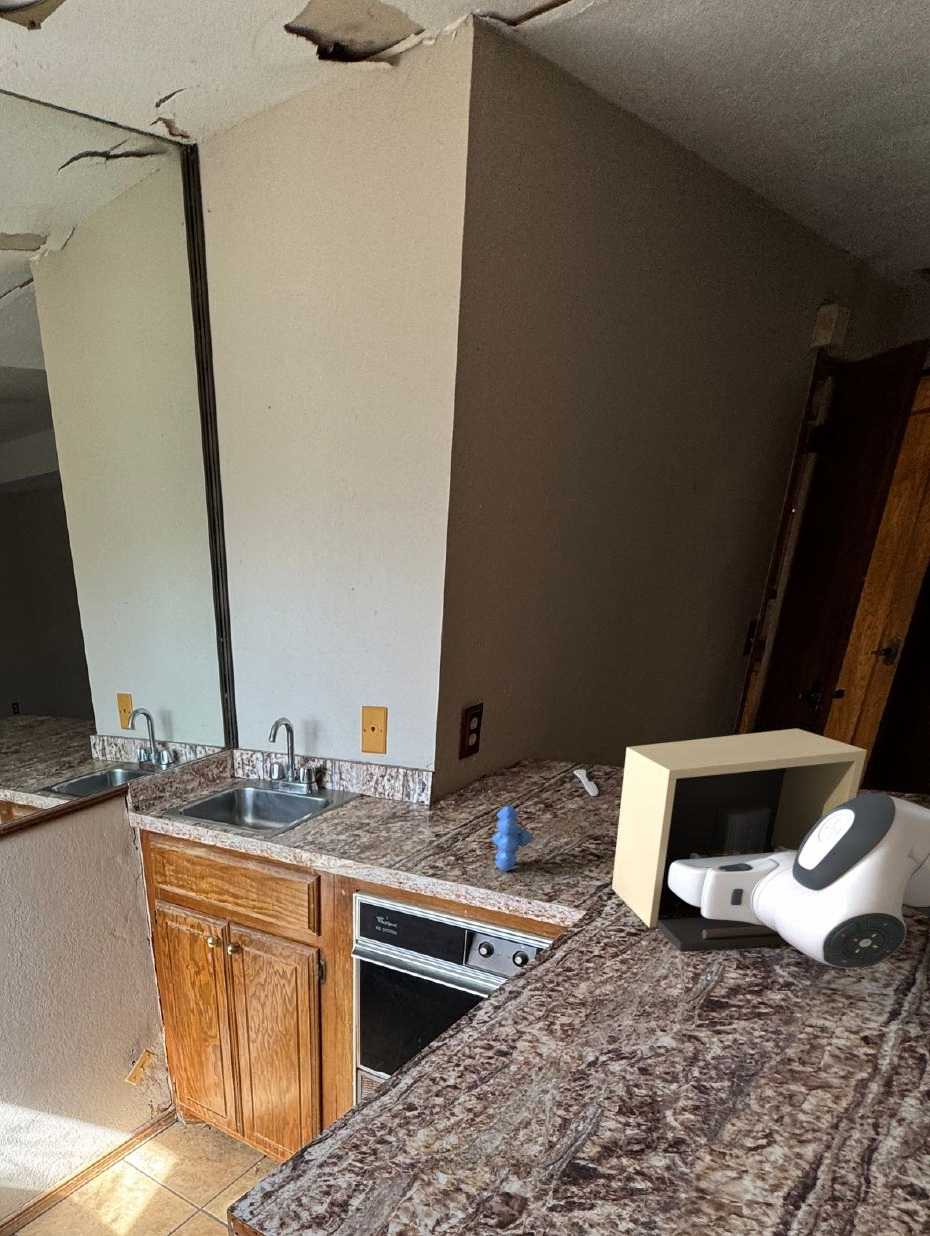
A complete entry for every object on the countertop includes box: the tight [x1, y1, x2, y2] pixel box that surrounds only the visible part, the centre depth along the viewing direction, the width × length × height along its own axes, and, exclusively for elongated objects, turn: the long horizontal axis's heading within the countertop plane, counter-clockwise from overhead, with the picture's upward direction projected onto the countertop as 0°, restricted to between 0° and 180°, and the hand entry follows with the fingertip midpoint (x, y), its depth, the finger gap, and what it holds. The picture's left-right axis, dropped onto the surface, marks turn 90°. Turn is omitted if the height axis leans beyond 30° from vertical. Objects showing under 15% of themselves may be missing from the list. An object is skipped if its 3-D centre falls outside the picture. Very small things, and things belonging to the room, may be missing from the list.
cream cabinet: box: [611, 728, 868, 952], centre depth 106 cm, size 22×24×22 cm
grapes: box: [491, 805, 535, 872], centre depth 134 cm, size 12×7×12 cm, turn 161°
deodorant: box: [699, 803, 770, 913], centre depth 107 cm, size 6×6×15 cm
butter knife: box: [573, 769, 599, 797], centre depth 178 cm, size 1×24×3 cm
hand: (733, 854), depth 107 cm, fingers open, 8 cm apart
